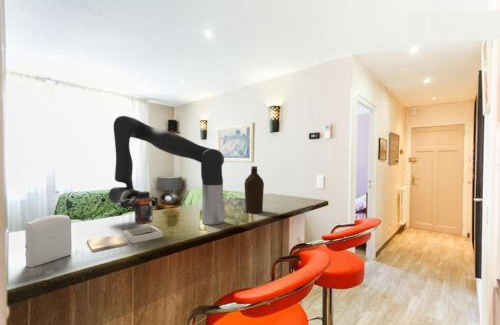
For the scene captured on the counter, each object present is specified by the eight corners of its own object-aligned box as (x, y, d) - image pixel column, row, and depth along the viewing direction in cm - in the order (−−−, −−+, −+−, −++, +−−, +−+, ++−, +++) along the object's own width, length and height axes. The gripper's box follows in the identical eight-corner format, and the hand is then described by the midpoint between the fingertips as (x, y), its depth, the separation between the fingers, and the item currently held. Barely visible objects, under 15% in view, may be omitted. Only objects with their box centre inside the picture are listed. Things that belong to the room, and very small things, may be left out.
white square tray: (152, 230, 96) (152, 225, 96) (162, 237, 88) (162, 231, 88) (123, 235, 89) (123, 230, 89) (131, 243, 81) (131, 237, 81)
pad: (119, 236, 88) (119, 234, 88) (127, 244, 80) (127, 242, 80) (86, 242, 82) (86, 240, 82) (92, 251, 74) (92, 249, 74)
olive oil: (252, 214, 125) (253, 166, 125) (240, 211, 134) (240, 166, 133) (267, 212, 132) (267, 166, 132) (255, 209, 140) (255, 166, 140)
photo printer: (30, 269, 62) (30, 220, 62) (22, 266, 64) (22, 219, 63) (74, 254, 71) (74, 213, 71) (65, 252, 73) (65, 211, 73)
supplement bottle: (156, 222, 89) (155, 191, 89) (141, 225, 84) (140, 193, 84) (146, 219, 93) (146, 190, 93) (131, 223, 88) (131, 192, 88)
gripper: (112, 191, 94) (123, 196, 82) (150, 188, 104) (165, 192, 91) (112, 210, 95) (124, 218, 82) (150, 205, 104) (165, 212, 91)
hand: (145, 204), depth 87 cm, fingers closed on supplement bottle, 6 cm apart
